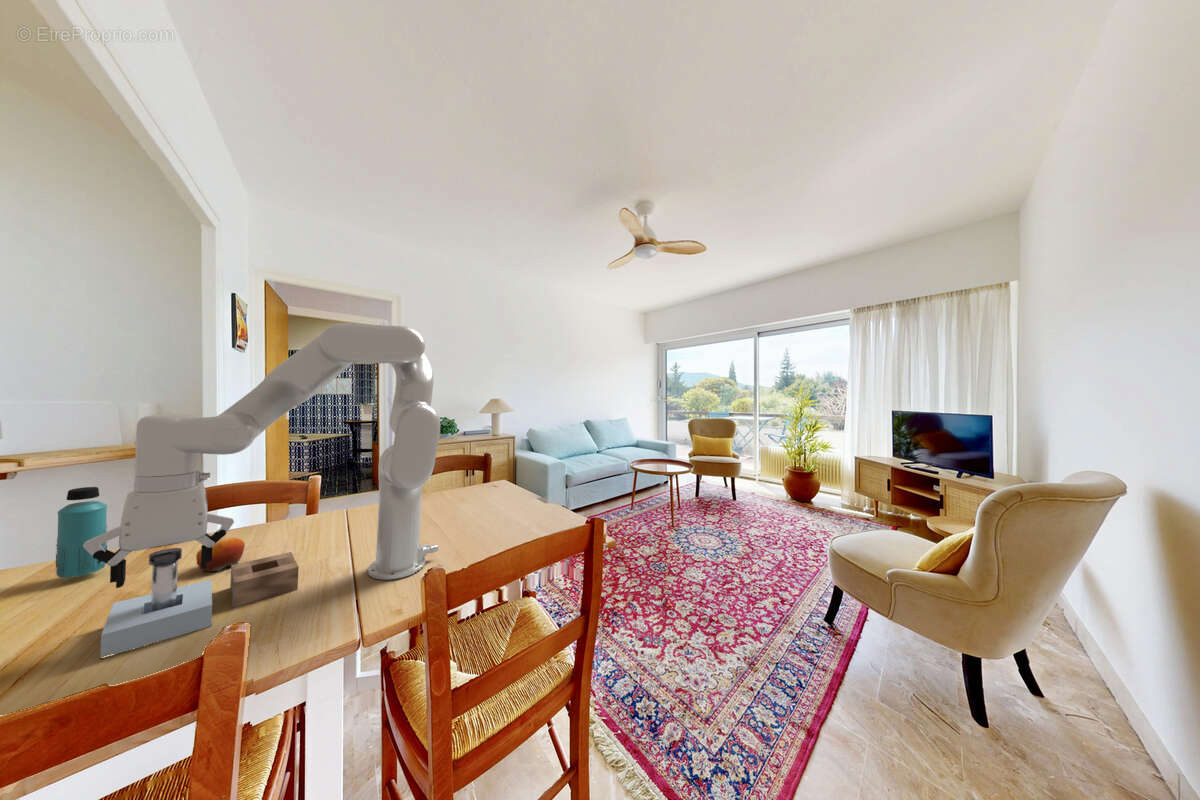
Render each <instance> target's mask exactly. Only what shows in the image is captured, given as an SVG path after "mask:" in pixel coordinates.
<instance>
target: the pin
mask: <svg viewBox="0 0 1200 800" xmlns="http://www.w3.org/2000/svg"><path fill="white" fill-rule="evenodd" d="M182 552H183V550H182V548H181V547H171V548H165V549H160V550H158V551H157V550H156V551H154V552H152V553H150V554H149V555H148V565H150V566H151V571H152V572H151V591H150V592H151V593H150V594H151V612H154V611H158V610H162V609H165V608H169V607H173V606H176V605H177V588H178V576H179V575H178V573H179V572H178V571H179V560H181V558H182V554H183V553H182Z"/></svg>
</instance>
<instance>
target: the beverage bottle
mask: <svg viewBox="0 0 1200 800" xmlns="http://www.w3.org/2000/svg"><path fill="white" fill-rule="evenodd" d="M98 497H100V491H99V487H97V486H86V487H77V488H76V487H75V488H73V489H69V490H68V491H67V495H66V498H65V499H66V501H79V502H74V503H70V504H67V505H65V506H64V507H61V509H59V510H58V511H57V537H56V547H55V550H56V553H55V568H56V569H55V570H54V571H55V573H54V574H56V576H57V577H58V578H61V579H67V578H74V577H76V578H77V577H81V576H86V575H89V574H93V573H95V572H99V571H101V570H102V569H104V568H105V566H106V564H107V563H104V562H102V561H99V560H97V559H94V558H93V556H92V555H91V554H90V553H89V552H88V551H87V550H86V549H85V548H83V545H84V543H85V542H86V541H88V540H90V539H92V538H95V537H97V536H99V535H101V534H104V533H106V532H108V531H107V530H108V525H107V524H108V522H107V513H108V511H107V509H108V505H107V504H106V503H104V502H101V501H99V500H88V499H95V498H98ZM80 500H82V501H81V502H80ZM83 500H87V501H83ZM101 546H102V547H103V548H104V549H107V550H108V542H104V543H102V544H101Z"/></svg>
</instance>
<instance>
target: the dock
mask: <svg viewBox="0 0 1200 800" xmlns="http://www.w3.org/2000/svg"><path fill="white" fill-rule="evenodd" d="M212 594H213V591H212V580H211V579H209V580H204V581H201V582H195V583H192V584H191V583H190V584H188V585H184V586H178V587H177V605H176V606H173V607H169V608H165V609H162V610H158V611H154V612H151V593H150V594H145V595H142V596H138V597H137V596H136V597H132V598H128V599H124V600H121V601H115V602H113V603H112V605H111V608H110V611H109V613H108V616H107V619H106V622H105V624H104V627H103V629H102V632H101V637H100V655H99V656H100V657H104V656H107V655H111V654H117V653H121V652H124V651H127V650H130V649H133V648H137V649H139V648H138V647H141V646H144V645H147V644H150V643H154V642H157V641H160V642H162V641H161V640H164V641H166V640H165V639H167V640H169V638H170V639H173V638H177V637H181V636H182V635H186V634H189V633H193V632H196V631H201V630H203V629H207V628H209V627H212V621H213V620H212V619H213V617H212V616H213V595H212ZM157 643H158V642H157ZM154 644H155V643H154ZM147 646H148V645H147ZM144 647H145V646H144ZM141 648H142V647H141ZM127 652H128V651H127ZM124 653H125V652H124ZM121 654H122V653H121ZM117 655H118V654H117ZM100 657H99V658H100Z"/></svg>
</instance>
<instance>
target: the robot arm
mask: <svg viewBox="0 0 1200 800" xmlns="http://www.w3.org/2000/svg"><path fill="white" fill-rule="evenodd" d="M425 343H426V342H425V340H424V337H423V336H422V335H421V334H420V333H419V332H418V331H416V330H415V329H413V328H412V327H408V326H402V325H387V324H386V325H385V324H384V325H382V324H365V323H351V322H350V323H348V322H342V323H341V322H339V323H334V324H332V325H329V326H327V327H326V328H325V329H324V330H322V332H321V333H320V334H319V335H317V336H316V337H314V338H313V339H312V340H311V341H309V342H308V343H307V344H305V345H304V346H303V347H301V348H300V349H298V351H295V352H294V354H292V355H291V356H289V357H288V358H286V359H285V360H284V361H283V362H280V364H278V365H277V366H276V367H274V368H272V370H270V372H269V373H268V374H267V375H266V377H264V379H263V380H262V381H260V383H259V384H258V385H257V386H256V387H254V388H253V389H252V390H250V392H248V393H247V394H245V395H244V396H243V397H242V398H241V399H239V400H238V401H236V402H235V403H233V404H232V405H231V406H229V408H227V409H225V410H224V411H223V412H221V413H219V415H216V416H207V417H197V416H195V415H191V414H155V415H146V416H144V417H141V418H140V419H139V420H138V421H137V424H136V432H135V433H136V434H135V435H136V436H135V458H134V459H135V461H134V462H135V463H134V464H135V465H134V480H133V481H134V483H133V484H134V485H133V486H134V487H133V490H132V491H129V492H128V493H127V496H126V498H125V501H124V504H123V508H122V514H121V519H120V520H121V521H120V525H119V526H117V527H114V528H112V529H111V530H109V531H106V533H104V534H101V535H99V536H97V537H95V538H92V539H90V540H88V541H86V542H85V543H84V545H83V548H85V549H86V550H87V551H88V552H89V553H90V554H91V555H92V556H93V558H94V559H97V560H99V561H102V562H104V563H106V564H107V566H109V567H110V570H109V571H110V572H109V583H111V584H112V583H115V589H119V588H122V587H123V586H124V585H125V582H126V573H127V571H126V570H127V559H125V558H126V557H128V556H129V555H130V554H131V553H132V552H137V551H138V552H139V551H143V550H144V551H145V550H149V549H156V548H162V547H166V546H167V547H168V546H173V545H178V544H184V543H189V542H193V541H197V542H198V543H199V544H201V547H200V548H201V549H200V550H201V569H200V570H202V569H206V564H207V562H212V547H213V546H214V545H215V543H216V542H218V541H219V540H220V539H223V538H225V536H226V534H227V533H228V531H229V530H230V529H231V527H232V526H233V525H234V523H235V519H234V518H231V517H227V516H222V515H216V514H213V513H212V514H211V513H209V511H208V499H207V490H206V486H205V485H204V484H201V482H204V481H206V480H211V472H203V471H200V463H201V462H200V461H201V460H200V458H201V456H200V455H201V454H205V455H219V456H220V455H224V456H225V455H234V454H238V453H240V452H242V451H244V450H245V449H248V448H249V447H250V446H251V445H252V444H253V442H254V441H255V439H256V438H257V437H258V436H260V435H261V434H262V433H263V432H265V431H266V430H267V429H268V428H269V427H270V426H272V425H273V424H274V423H276V422H277V421H278V420H279V419H280V418H282V417H283V416H284V415H286V414H287V413H288V412H289V411H291V410H292V409H294V408H295V407H297V406H299V405H301V404H303V403H305V402H307V401H308V400H310V399H311V398H313V397H314V396H315V395H317V394H318V393H319V392H320V391H321V390H322V389H324V388H325V387H326V386H327V385H328V384H330V383H332V381H333V380H334V379H335V378H337V377H338V376H340V375H341V374H342V373H343V372H345V370H347V369H348V368H350V367H351V366H352V365H353V364H390V365H391V367H392V368H393V370H394V373H395V387H394V388H395V389H394V390H395V391H394V396H393V400H392V401H393V402H392V406H391V411H390V414H389V418H388V419H389V428H390V429H391V431H392V432H393V433H394V439H393V444H392V445H390V446H388V447H387V448H386V449H385V450H384V451H383V452H382V454H381V455H380V458H379V460H378V468H377V469H378V472H377V473H378V490H379V491H378V510H377V511H378V512H377V513H378V514H377V530H376V531H377V532H376V551H375V552H376V553H375V554H376V555H375V556H376V557H375V560H374V561H373V562H371V563H370V565H369V566H368V567H367V568H368V569H367V573H368V576H370V578H373V579H376V580H382V581H383V580H385V581H386V580H387V581H388V580H389V581H390V580H398V579H402V578H405V577H408V576H411V575H413V574H415V572H416V573H417V571H418V570H419V571H421V570H422V569H421V567H422V566H423V565H424V563H425V564H426V557H427V555H428V554H434V553H437V552H438V551H439V545H438V544H436V543H435V544H432V545H430V543H425V544H424V543H423V544H422V545H421V544H420V541H421V540H420V538H421V521H422V520H421V519H422V518H421V517H422V499H423V491H422V490H423V489H422V486H424V485H425V484H426V483H427V482H428V481H429V479H430V478H431V477H432V475H433V472H434V468H435V464H436V458H437V452H438V446H439V440H440V432H441V420H440V419H441V418H440V416H439V414H438V413H437V411H436V410H435V408H433V407H432V406H431V405H432V399H433V390H434V389H433V388H434V371H433V367H432V365H431V363H430V360H429V359H428V357H427V356H426V354H425V349H426V344H425ZM199 483H200V484H199ZM208 523H210V524H211V523H212V524H214V525H215V524H216V525H221V526H220V527H219V529H218V530H216V531H215V532H214V533H213V534H211V535H210V534H209V533H207V529H208ZM115 538H118V543H119V544H118V546H119V548H118V549H117V550H116V551H115V552H114V551H111V550H109V549H108V548H107V549H104V548H103V547H102V546H101V544H102V543H104V542H106V543H108V542H109V541H110V540H113V539H115ZM424 566H425V565H424ZM419 571H418V572H419Z"/></svg>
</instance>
